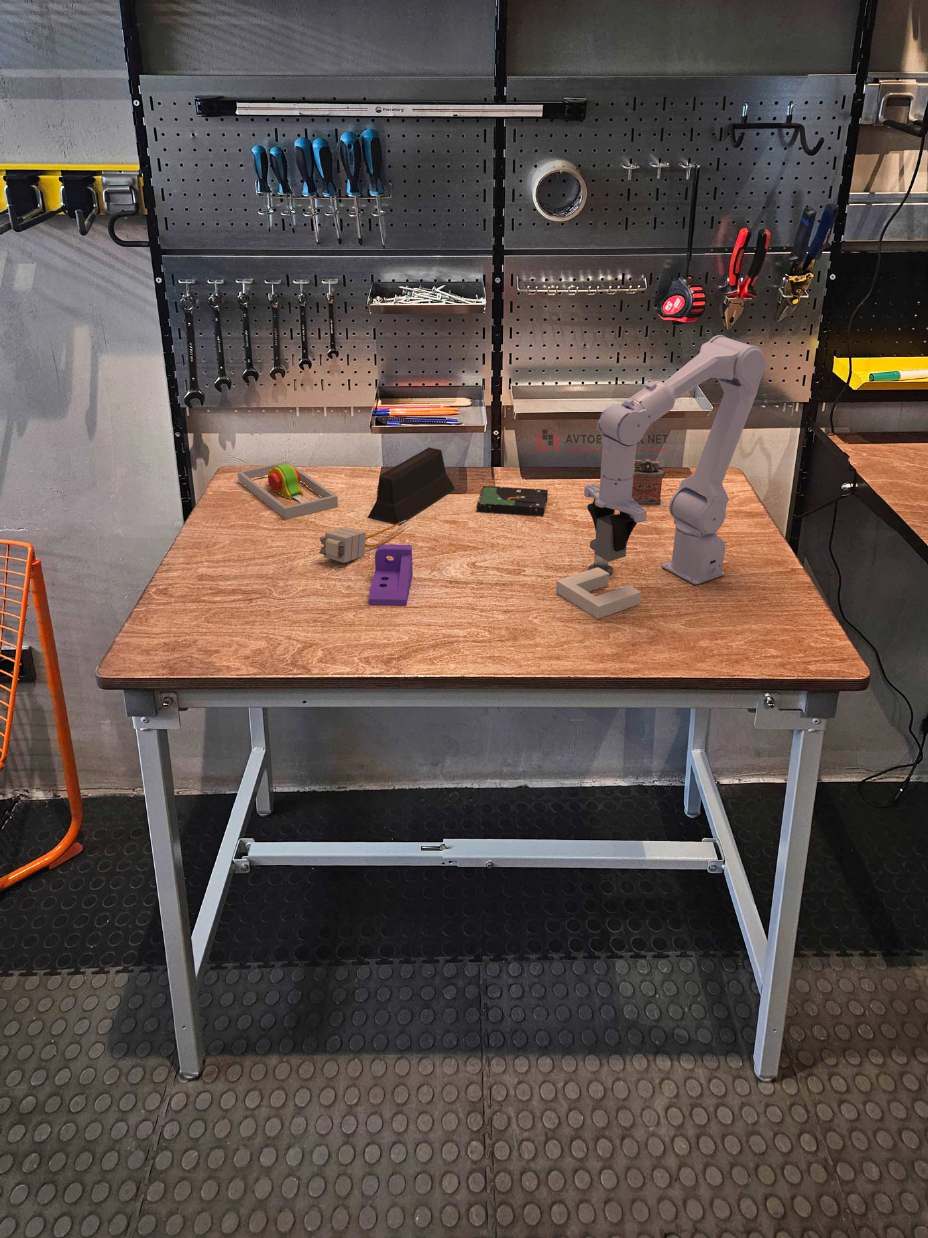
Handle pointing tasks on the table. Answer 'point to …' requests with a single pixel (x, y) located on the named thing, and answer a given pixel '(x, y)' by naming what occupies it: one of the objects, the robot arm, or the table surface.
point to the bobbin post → (600, 561)
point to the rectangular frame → (324, 503)
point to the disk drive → (512, 501)
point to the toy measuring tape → (286, 482)
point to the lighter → (647, 483)
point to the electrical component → (348, 543)
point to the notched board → (597, 606)
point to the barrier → (411, 487)
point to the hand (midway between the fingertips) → (611, 545)
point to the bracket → (391, 575)
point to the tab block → (606, 540)
